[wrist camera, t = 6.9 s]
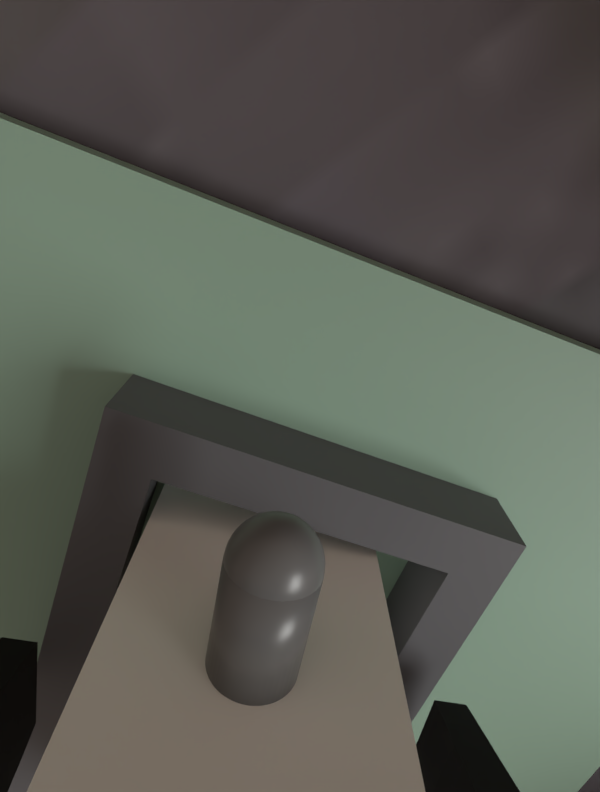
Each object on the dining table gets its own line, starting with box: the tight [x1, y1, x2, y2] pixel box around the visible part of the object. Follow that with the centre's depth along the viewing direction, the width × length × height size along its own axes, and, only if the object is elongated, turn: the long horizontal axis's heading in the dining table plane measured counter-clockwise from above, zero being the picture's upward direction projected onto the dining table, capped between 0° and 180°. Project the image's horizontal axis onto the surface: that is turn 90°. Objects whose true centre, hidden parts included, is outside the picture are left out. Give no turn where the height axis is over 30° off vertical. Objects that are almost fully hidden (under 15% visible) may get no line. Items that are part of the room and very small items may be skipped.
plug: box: [27, 484, 425, 792], centre depth 9 cm, size 4×9×6 cm, turn 169°
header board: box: [0, 113, 600, 792], centre depth 11 cm, size 20×16×2 cm
